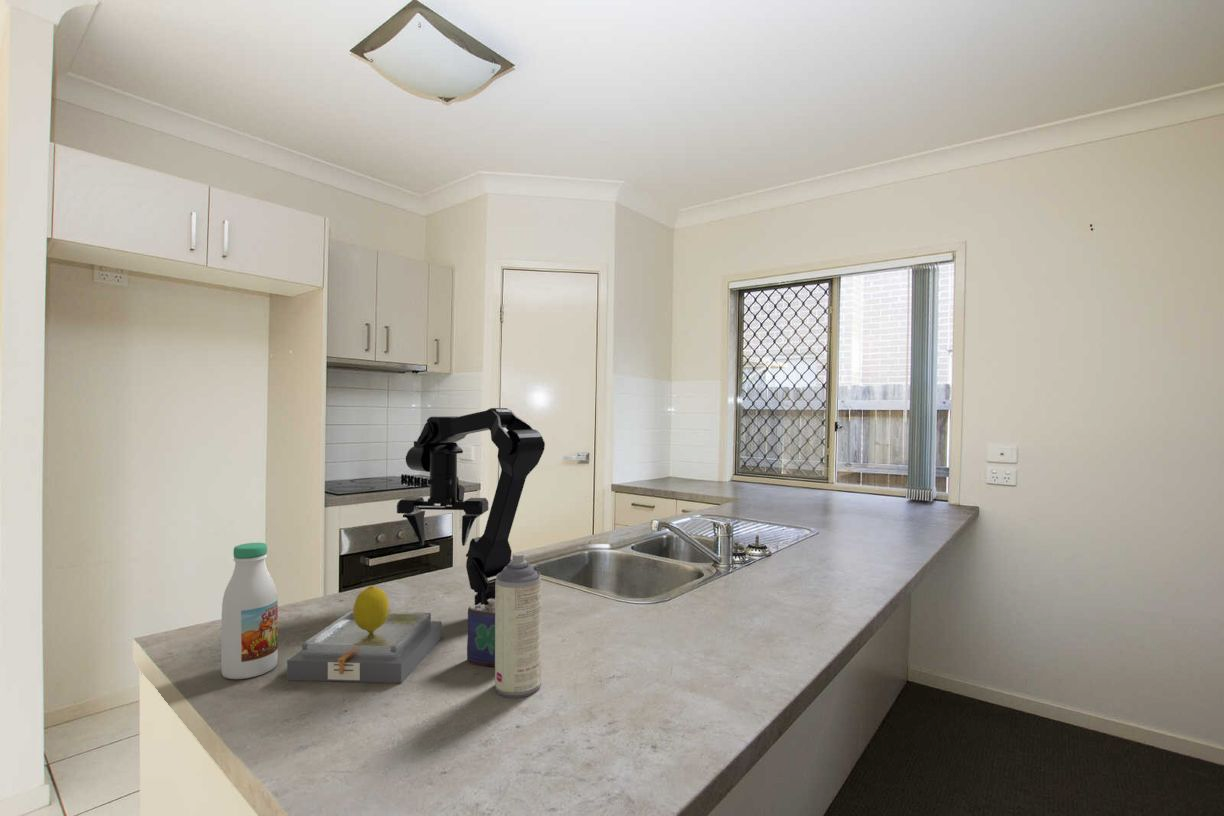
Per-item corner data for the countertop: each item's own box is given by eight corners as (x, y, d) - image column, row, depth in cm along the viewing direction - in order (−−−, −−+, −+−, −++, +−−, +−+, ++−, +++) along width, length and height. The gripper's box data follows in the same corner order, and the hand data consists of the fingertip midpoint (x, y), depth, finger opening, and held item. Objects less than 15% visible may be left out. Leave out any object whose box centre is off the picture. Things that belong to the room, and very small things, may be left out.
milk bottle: (218, 685, 90) (218, 552, 90) (224, 665, 97) (224, 542, 97) (276, 674, 94) (277, 547, 94) (278, 656, 100) (279, 537, 100)
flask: (521, 663, 98) (521, 598, 98) (514, 670, 95) (514, 603, 95) (471, 656, 101) (471, 593, 101) (462, 663, 98) (462, 598, 98)
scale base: (441, 637, 109) (441, 621, 109) (400, 683, 91) (400, 664, 91) (345, 635, 110) (345, 619, 110) (286, 680, 92) (286, 660, 92)
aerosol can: (523, 672, 95) (524, 546, 95) (549, 687, 90) (550, 554, 90) (486, 686, 90) (486, 554, 90) (511, 702, 85) (512, 562, 85)
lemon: (394, 627, 103) (394, 581, 103) (378, 640, 97) (379, 591, 97) (363, 626, 103) (364, 580, 103) (346, 638, 98) (346, 590, 98)
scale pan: (430, 632, 107) (430, 613, 107) (389, 675, 90) (389, 652, 90) (349, 630, 108) (349, 611, 108) (293, 672, 91) (293, 650, 91)
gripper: (494, 470, 138) (494, 537, 138) (415, 469, 139) (415, 536, 139) (481, 475, 127) (481, 549, 127) (395, 474, 128) (395, 547, 128)
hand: (443, 545), depth 130 cm, fingers open, 9 cm apart
